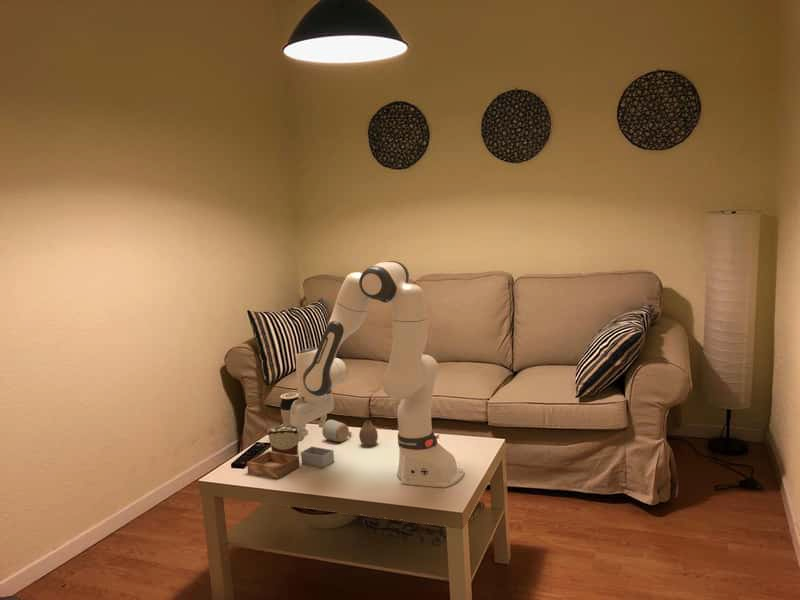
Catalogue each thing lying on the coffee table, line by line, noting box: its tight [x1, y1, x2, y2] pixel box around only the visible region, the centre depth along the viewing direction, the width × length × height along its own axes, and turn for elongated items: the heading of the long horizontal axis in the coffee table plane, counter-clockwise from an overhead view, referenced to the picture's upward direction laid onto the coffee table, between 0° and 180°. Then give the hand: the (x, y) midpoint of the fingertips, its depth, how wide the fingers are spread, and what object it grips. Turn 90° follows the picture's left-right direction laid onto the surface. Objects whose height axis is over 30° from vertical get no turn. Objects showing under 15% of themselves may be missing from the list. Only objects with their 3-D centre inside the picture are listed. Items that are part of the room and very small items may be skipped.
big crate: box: [246, 450, 301, 480], centre depth 242 cm, size 14×12×4 cm
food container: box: [266, 424, 300, 456], centre depth 258 cm, size 12×6×10 cm, turn 84°
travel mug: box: [279, 392, 305, 442], centre depth 271 cm, size 8×8×18 cm
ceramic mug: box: [322, 419, 352, 443], centre depth 268 cm, size 11×8×8 cm
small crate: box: [300, 446, 335, 469], centre depth 245 cm, size 10×6×4 cm, turn 58°
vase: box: [358, 421, 379, 448], centre depth 259 cm, size 7×7×9 cm
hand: (313, 431), depth 244 cm, fingers open, 8 cm apart
